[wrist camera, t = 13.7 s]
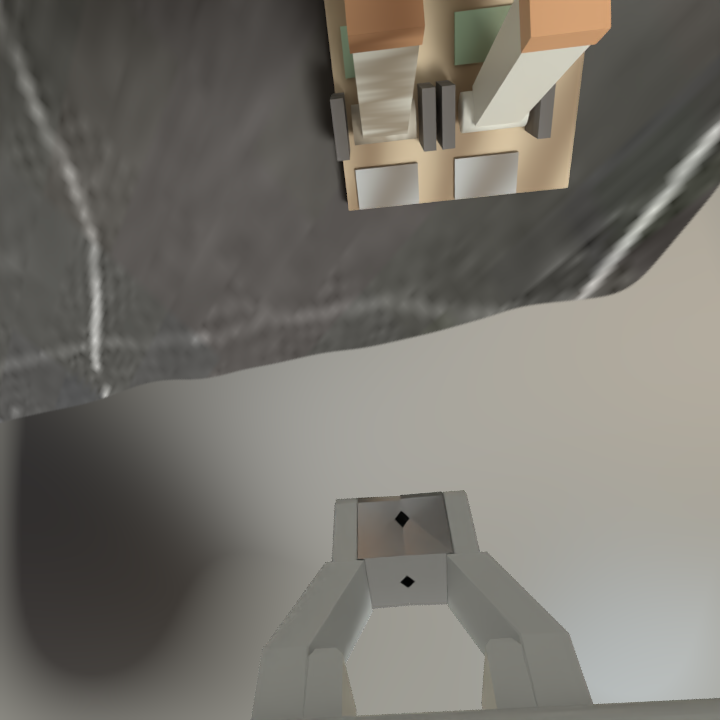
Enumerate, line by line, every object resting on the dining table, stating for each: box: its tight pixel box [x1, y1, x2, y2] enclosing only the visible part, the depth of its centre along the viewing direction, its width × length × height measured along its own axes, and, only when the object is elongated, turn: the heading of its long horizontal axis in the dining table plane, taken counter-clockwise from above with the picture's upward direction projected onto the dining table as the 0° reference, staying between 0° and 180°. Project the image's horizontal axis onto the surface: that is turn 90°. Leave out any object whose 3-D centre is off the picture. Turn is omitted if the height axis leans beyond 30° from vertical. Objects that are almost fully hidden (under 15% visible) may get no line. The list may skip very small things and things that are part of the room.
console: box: [324, 0, 585, 211], centre depth 28 cm, size 16×14×16 cm
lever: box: [458, 0, 611, 133], centre depth 26 cm, size 4×3×15 cm, turn 96°
